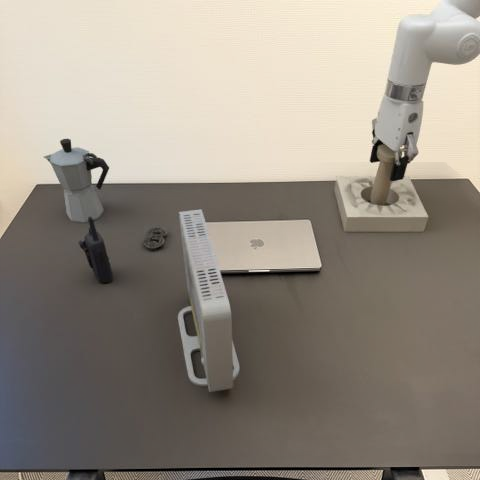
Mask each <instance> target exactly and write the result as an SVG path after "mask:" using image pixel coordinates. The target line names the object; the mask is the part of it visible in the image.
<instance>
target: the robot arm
mask: <svg viewBox="0 0 480 480" xmlns="http://www.w3.org/2000/svg"><path fill="white" fill-rule="evenodd" d="M479 17H480V0H442V1H440V3H439V4H437V6H435V7H434V9H432V11H431V12H430V13H429V14H421V13H418V14H417V13H415V14H409V15H406V16H404V17H402V18H401V20H400V21H399V23H398V25H397V28H396V29H397V30H396V36H395V40H394V45H393V50H392V54H391V58H390V64H389V69H388V74H387V79H386V84H385V89H384V93H383V95H382V97H381V98H382V99H381V101H380V104H379V108H378V112H377V116H376V117H375V118H373V119H372V120H371V128H372V130H371V134H372V140H371V144H372V147H371V148H372V149H371V153H370V156H369V162H370V163H371V164H373V163H380V160H379V159H378V157H377V151H378V146H379V145H382V144H385V145H387V146H388V147H389V148H390V149H392V150H393V151H394V152H395V160H396V163H393V167H392V171H391V175H390V181H397V180H402V179H403V178H404V176H406V172H407V171H406V170H407V167H408V165H409V164H410V163H411V162H413V161H414V159H415V158H416V157H417V156H418V155H419V149H418V146H417V144H418V140H419V137H420V132H421V127H422V122H423V114H424V101H423V98H424V94H425V90H426V86H427V82H428V79H429V76H430V72H431V68H432V64H433V63H438V64H445V65H454V66H459V65H465V64H468V63H470V62H472V61H474V60H475V59H477V57H479V55H480V21H479V20H477V19H478V18H479ZM400 152H402V153H403V156H402V157H401V156H400Z"/></svg>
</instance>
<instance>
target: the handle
mask: <svg viewBox="0 0 480 480" xmlns="http://www.w3.org/2000/svg"><path fill="white" fill-rule="evenodd" d="M400 156H401V158H402V157H403V152H400ZM377 157H378V159H379V160H380V162H378V163H379V164H378V166H377V170H376V174H375V176H376V177H375V181H374V184H373V188H372V193H371V200H369V201H370V202H369V203H371V204H374V205H379V206H386V204H387V203H386V201H387V198H388V194H389V191H390V185H391V181H390V175H391V171H392V167H393V163H396V160H395V152H394V151H393V150H392V149H390V148H389V147H388V146H387V145H385V144H382V145H379V146H378V151H377Z"/></svg>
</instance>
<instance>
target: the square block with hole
mask: <svg viewBox="0 0 480 480" xmlns="http://www.w3.org/2000/svg"><path fill="white" fill-rule="evenodd" d="M375 177H376V175H374V176H373V175H372V176H368V175H367V176H365V175H363V176H362V175H361V176H360V175H359V176H357V175H355V176H354V175H353V176H351V175H350V176H348V175H347V176H344V175H343V176H341V175H340V176H339V175H338V176H335V181H334V187H333V192H334V196H335V199H336V202H337V207H338V212H339V215H340V219H341V224H342V227H343V231H344V233H358V232H359V233H376V232H377V233H424V232H425V228H426V226H427V224H428V219H429V215H428V213H427V211H426V209H425V207H424V205H423V202H422V201H421V199H420V196H419V194H418V192H417V190H416V188H415V186H414V184H413V182H412V180H411V178H410V176H408V175H404V178H403V179H402V180H397V181H391V185H390V191H389V194H388V198H387V201H386V203H385V204H387V205H384V206H379V205H374V204H371V203H370V202H369V201H370V200H371V193H372V188H373V184H374V181H375Z"/></svg>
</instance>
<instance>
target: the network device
mask: <svg viewBox="0 0 480 480" xmlns="http://www.w3.org/2000/svg"><path fill="white" fill-rule="evenodd" d="M178 217H179V226H180V227H179V228H180V235H181V243H182V244H181V245H182V252H183V253H182V254H183V261H184V271H185V279H186V280H185V281H186V287H187V294H188V299H189V303H190V305H189V306H186V307H184V308H182V309H181V310H180V311H179V313H178V315H177V320H178V321H177V322H178V327H179V333H180V339H181V343H182V349H183V350H182V351H183V355H184V360H185V361H184V362H185V366H186V367H185V368H186V372H187V376H188V379H189V381H190V382H191V383H192V384H194V385H195V386H197V387H207V388H208V389H207V390H208V392H209V393H214V392H220V391H224V390H231V389H234V381H235V380H236V378H237V377H238V376H239V374H240V363H239V359H238V356H237V352H236V349H235V344H234V341H233V320H232V319H233V318H232V317H233V316H232V310H231V305H230V301H229V298H228V294H227V291H226V287H225V284H224V281H223V280H224V279H223V276H222V273H221V270H220V267H219V263H218V261H217V257H216V254H215V250H214V246H213V243H212V239H211V236H210V233H209V229H208V226H207V222H206V219H205V216H204V213H203V209H193V210H185V211H184V210H183V211H178ZM187 314H192V316H193V317H192V318H193V323H194V327H195V332H196V335H194V336H191V335H188V334H187V331H186V326H185V325H186V324H185V320H184V316H185V315H187ZM198 351H200V355H201V357H200V362H201V366H203V369H204V374H205V377H204V378H198V377H196V375H195V372H194V367H193V361H192V354H193V353H194V352H198Z"/></svg>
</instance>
